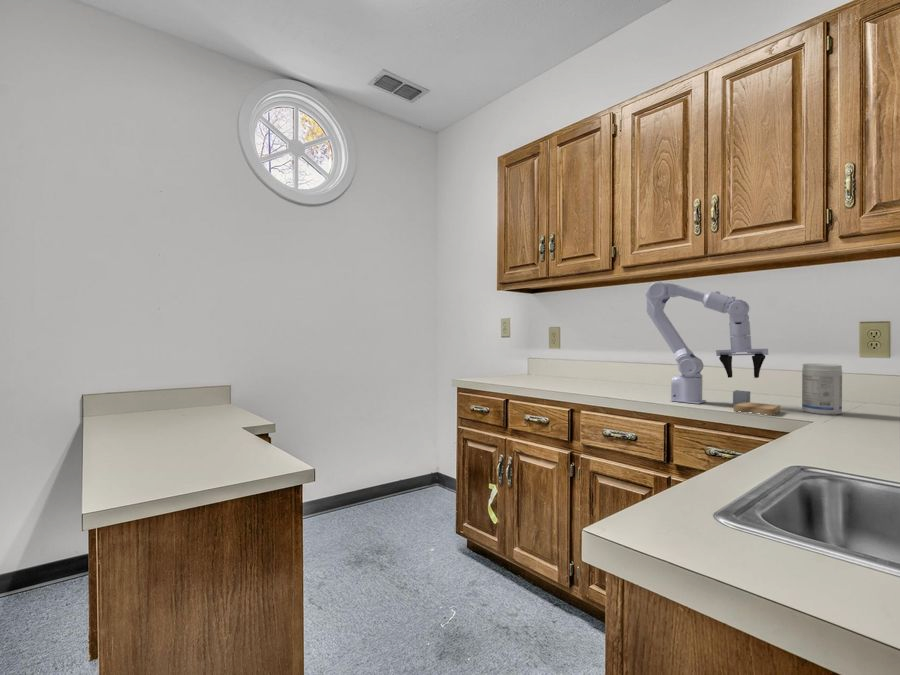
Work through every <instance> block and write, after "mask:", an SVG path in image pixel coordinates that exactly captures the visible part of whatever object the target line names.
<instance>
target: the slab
mask: <svg viewBox="0 0 900 675" xmlns="http://www.w3.org/2000/svg"><path fill="white" fill-rule="evenodd" d="M734 411H741V412H752V413H760V414H767V415H774V414H775V415H777V414H779V413H781V405H779V404H771V403H770V404H768V403H758V402H751V401H750V402H741V403H738V404H736V405H734V407H733V412H734ZM741 412H740V413H741ZM778 412H779V413H778ZM776 413H777V414H776ZM767 415H766V416H767ZM775 415H774V416H775Z"/></svg>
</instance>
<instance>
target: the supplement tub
mask: <svg viewBox="0 0 900 675" xmlns="http://www.w3.org/2000/svg"><path fill="white" fill-rule="evenodd" d="M801 375H802V376H801V378H802V379H801V381H802V382H801V383H802V384H801V385H802V387H801V390H802V391H801V408H802V409H801V410H802V411H804V412H805V413H810V414H817V415H827V416H828V415H829V416H830V415H831V416H834V415H835V416H836V415H837V416H838V415H840V414H841V413H842V412H843V370H842V365H841V364H835V363H834V364H833V363H813V362H812V363H803V364H802V372H801Z"/></svg>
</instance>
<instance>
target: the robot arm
mask: <svg viewBox="0 0 900 675" xmlns="http://www.w3.org/2000/svg"><path fill="white" fill-rule="evenodd" d="M645 297H646V313H647V315H648V316H649V317H650V319H651V322H652V323H653V324H654V326H655V327H656V329H657V330H658V332H659V333H660V335H661V337H663V339H664V341H665V342H666V343H667V346H668V347H669V348H670V350H671V352H672V353H673V356H674V358H675V361H676V363H677V366H678V371H679V375H673V376H672V378H671V381H670V382H671V383H670V400H669V401H670V402H679V403H686V404H687V403H688V404H697V405H700V404H703V403H705V402H707V400H706V399H703V374H701V372H702V371H703V369H704V363H703V360H702V359H701V358H699V357H698V356H696V355H695V354H694V352H693V351H692V350H691V349H689V347H688V346H687V344H686V342H684V339H683V338H682V337H681V335H680V333H679V332H678V331H677V329H676V328H675V326H674V325H673V323H672V322H671V320H670V319H669V317H668V315H666V313H665V311H664V310H665V306H666V303H667V302H668V301H669V300H670V298H676V297H682V298H686V299H689V300H693V301H696V302H700V303H702V304H703V306H704V308H706V309H709V310H713V311H716V312H719V313H722V314H728V315H729V316H728V317H729V324H728V325H729V341H730V349H717V350H716V351H715V352H716V354H715V355H716V357H718V360H719V361H720V362H721V364H722V365H723V368H724V370H725V373H726V376H727V378H733V365H732V364H733V363H732V362H733V356H751V360H752V365H753V376H754V377H753V378H754V379H758V378H760V371H761V368H762V365H763V363H764V361H765V359H766V356H767V355H769V348H752V338H751V337H752V336H751V323H750V322H751V321H750V320H749V319H750V317H749V312H750V305H749V303H748V302H747V301H744V300H743V299H736V298H737V297H736V296H734V295H732V296H728V295H724V294H722V293H721V292H720V291H718V290H715V291H710V292H707V293H704V292H701V291H698V290H695V289H693V288H688V287H685V286H682V285H679V284H674V283H670V282H669V283H667V282H665V283H664V282H661V281H654V282H652V283H650V285H649V286H648V288H647V289H646V292H645Z"/></svg>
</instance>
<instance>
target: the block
mask: <svg viewBox="0 0 900 675" xmlns="http://www.w3.org/2000/svg"><path fill="white" fill-rule="evenodd" d="M741 402H751V391H747V390H738V389H737V390H733V391H732V407H733V406H734V405H736V404H738V403H741Z"/></svg>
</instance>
